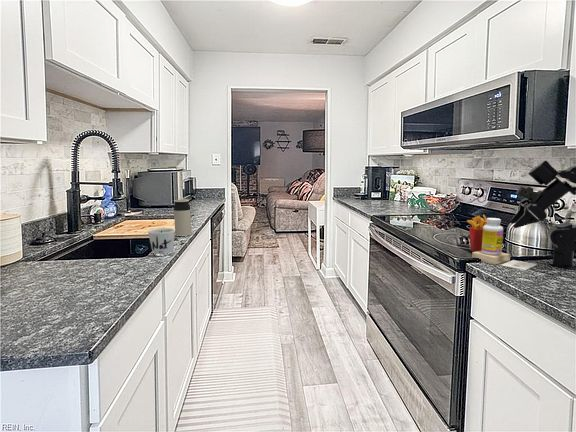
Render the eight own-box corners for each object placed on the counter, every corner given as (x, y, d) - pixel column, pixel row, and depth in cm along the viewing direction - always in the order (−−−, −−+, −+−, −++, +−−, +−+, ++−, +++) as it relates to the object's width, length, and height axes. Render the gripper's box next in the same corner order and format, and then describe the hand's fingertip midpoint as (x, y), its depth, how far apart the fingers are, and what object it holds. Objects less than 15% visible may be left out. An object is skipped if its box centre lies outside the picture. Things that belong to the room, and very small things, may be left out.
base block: (487, 255, 155) (487, 249, 154) (509, 260, 147) (510, 254, 146) (471, 258, 150) (472, 252, 150) (494, 264, 143) (494, 257, 142)
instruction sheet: (513, 260, 148) (513, 259, 147) (537, 264, 141) (537, 264, 141) (500, 265, 141) (500, 264, 141) (525, 270, 135) (525, 269, 135)
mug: (147, 258, 159) (146, 233, 157) (152, 249, 173) (151, 227, 172) (175, 256, 161) (173, 232, 159) (177, 248, 175) (176, 225, 174)
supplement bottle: (497, 256, 144) (499, 221, 142) (478, 253, 149) (480, 218, 147) (504, 253, 148) (506, 218, 146) (486, 250, 153) (488, 216, 151)
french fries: (491, 254, 156) (494, 216, 154) (469, 254, 157) (472, 216, 154) (482, 249, 165) (484, 213, 162) (461, 249, 165) (463, 213, 163)
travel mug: (185, 237, 198) (183, 201, 195) (172, 236, 201) (169, 200, 198) (194, 234, 206) (192, 199, 203) (181, 233, 208) (179, 199, 206)
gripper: (528, 176, 148) (493, 205, 154) (537, 179, 131) (497, 212, 137) (551, 198, 146) (515, 226, 152) (564, 204, 129) (522, 236, 135)
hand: (512, 224), depth 144 cm, fingers open, 9 cm apart
